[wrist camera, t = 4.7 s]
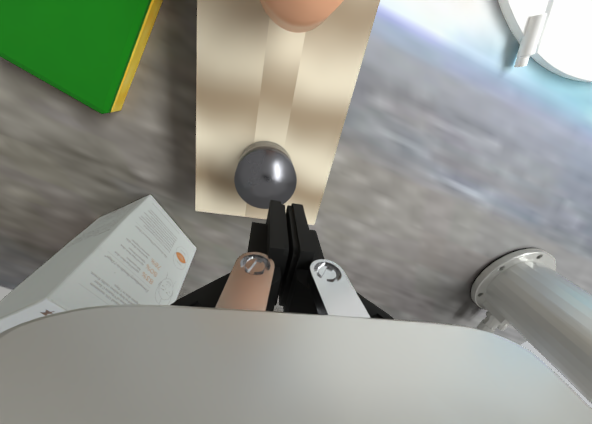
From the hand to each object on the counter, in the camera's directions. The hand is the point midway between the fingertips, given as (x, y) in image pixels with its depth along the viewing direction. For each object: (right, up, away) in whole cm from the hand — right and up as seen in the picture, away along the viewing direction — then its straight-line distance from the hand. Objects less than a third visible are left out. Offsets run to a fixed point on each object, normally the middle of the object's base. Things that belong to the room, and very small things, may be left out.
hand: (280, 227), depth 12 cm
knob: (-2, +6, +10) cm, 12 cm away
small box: (-15, -1, +14) cm, 20 cm away
